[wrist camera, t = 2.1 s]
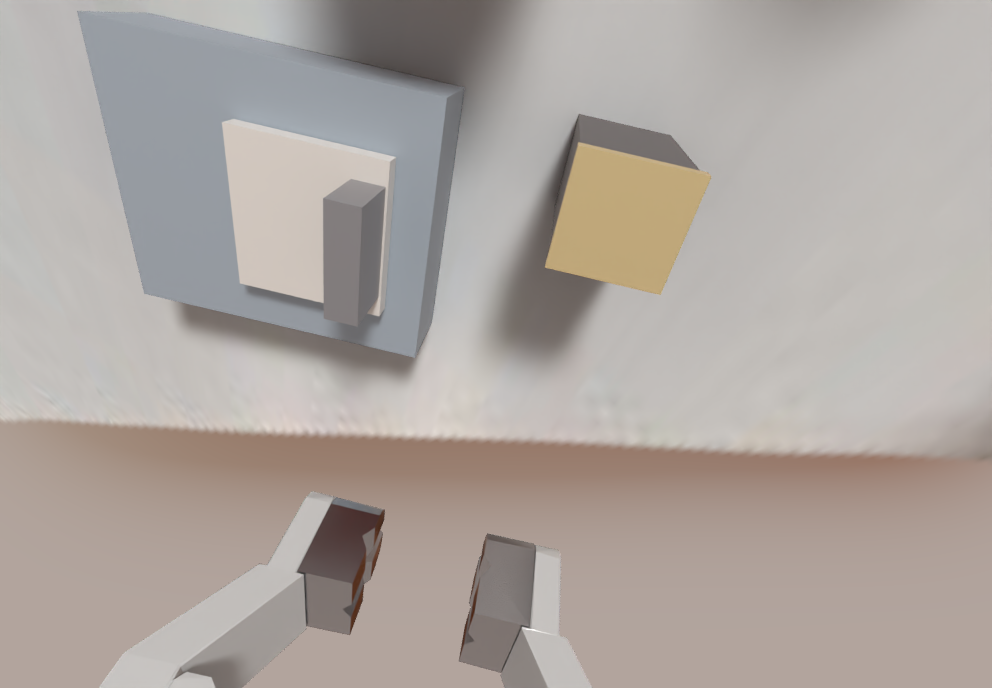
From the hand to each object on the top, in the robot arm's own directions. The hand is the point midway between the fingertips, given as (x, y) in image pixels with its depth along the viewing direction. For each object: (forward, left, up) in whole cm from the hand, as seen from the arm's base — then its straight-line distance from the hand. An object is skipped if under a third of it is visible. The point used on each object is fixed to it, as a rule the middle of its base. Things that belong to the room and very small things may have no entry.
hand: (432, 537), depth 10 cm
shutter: (+8, 0, -14) cm, 16 cm away
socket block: (+11, 0, -17) cm, 20 cm away
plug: (-3, -4, -17) cm, 18 cm away
